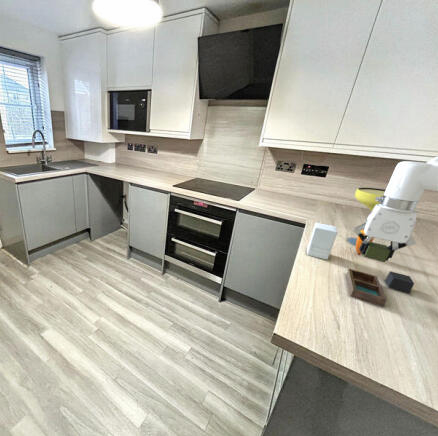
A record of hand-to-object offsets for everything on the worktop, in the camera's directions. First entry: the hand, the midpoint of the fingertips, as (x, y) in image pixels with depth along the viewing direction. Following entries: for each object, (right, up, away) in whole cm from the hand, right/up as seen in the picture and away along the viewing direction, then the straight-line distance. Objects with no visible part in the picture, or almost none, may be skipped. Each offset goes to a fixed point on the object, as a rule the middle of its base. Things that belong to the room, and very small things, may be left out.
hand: (373, 255), depth 77 cm
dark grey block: (+11, -11, +3) cm, 16 cm away
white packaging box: (-2, -3, +23) cm, 23 cm away
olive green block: (0, 0, 0) cm, 0 cm away
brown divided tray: (-2, -11, +1) cm, 12 cm away
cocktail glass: (+27, 0, +34) cm, 43 cm away
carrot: (+16, -4, +24) cm, 29 cm away
